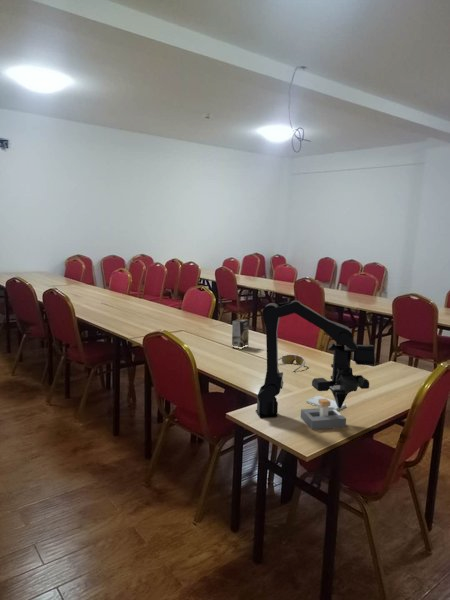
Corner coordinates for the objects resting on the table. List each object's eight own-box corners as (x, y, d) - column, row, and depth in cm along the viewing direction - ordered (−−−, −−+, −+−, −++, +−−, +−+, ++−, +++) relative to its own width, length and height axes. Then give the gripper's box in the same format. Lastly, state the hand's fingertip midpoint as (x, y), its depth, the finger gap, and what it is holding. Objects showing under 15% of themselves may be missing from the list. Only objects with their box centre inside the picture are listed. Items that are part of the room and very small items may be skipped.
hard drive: (306, 400, 167) (333, 409, 158) (318, 395, 172) (346, 403, 163) (305, 404, 167) (333, 413, 158) (318, 399, 172) (346, 407, 163)
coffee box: (241, 349, 247) (241, 322, 245) (231, 348, 251) (231, 320, 249) (248, 346, 255) (249, 319, 253) (239, 345, 258) (239, 318, 256)
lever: (321, 420, 147) (322, 402, 146) (317, 416, 150) (318, 399, 149) (329, 420, 147) (330, 402, 146) (325, 416, 150) (326, 398, 150)
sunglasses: (308, 365, 217) (308, 356, 216) (296, 377, 205) (296, 367, 204) (283, 361, 225) (283, 352, 224) (269, 372, 213) (269, 362, 212)
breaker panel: (311, 429, 143) (312, 420, 142) (300, 417, 152) (301, 408, 152) (345, 427, 145) (346, 417, 145) (332, 415, 155) (332, 406, 154)
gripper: (326, 371, 137) (323, 418, 140) (379, 369, 141) (376, 414, 143) (312, 361, 148) (310, 405, 150) (362, 359, 152) (359, 402, 154)
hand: (339, 407), depth 149 cm, fingers closed
